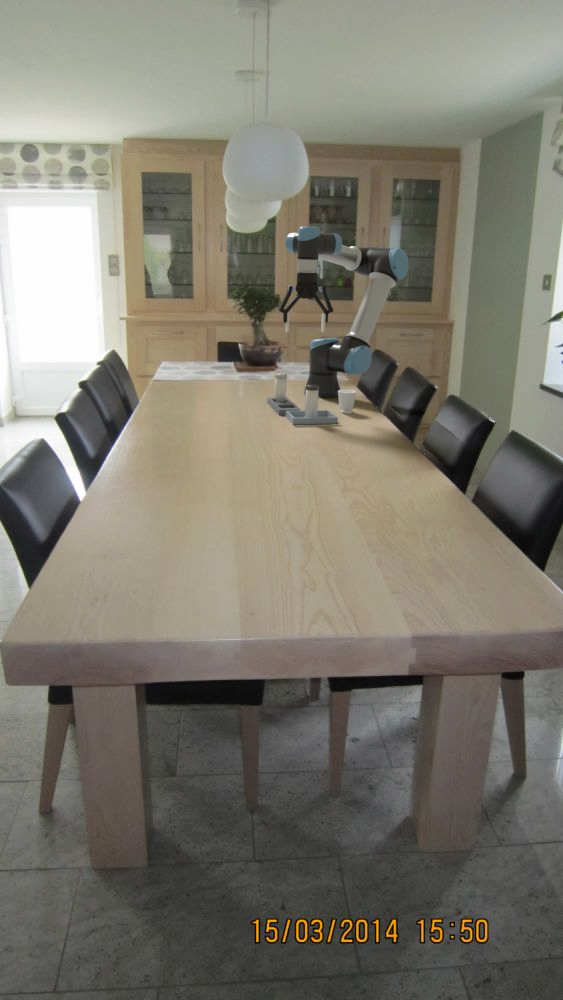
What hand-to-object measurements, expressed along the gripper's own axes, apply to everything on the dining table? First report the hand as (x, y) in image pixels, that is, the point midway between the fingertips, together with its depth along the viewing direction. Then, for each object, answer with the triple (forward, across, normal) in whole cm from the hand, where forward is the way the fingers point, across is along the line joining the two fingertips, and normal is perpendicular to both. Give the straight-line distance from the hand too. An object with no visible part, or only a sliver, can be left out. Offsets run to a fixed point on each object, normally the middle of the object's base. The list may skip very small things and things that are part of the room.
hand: (305, 331), depth 277 cm
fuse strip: (+29, +8, +2) cm, 30 cm away
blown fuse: (+28, +2, +21) cm, 35 cm away
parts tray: (+29, +2, +21) cm, 36 cm away
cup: (+29, -15, +7) cm, 33 cm away
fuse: (+28, +8, -4) cm, 30 cm away
